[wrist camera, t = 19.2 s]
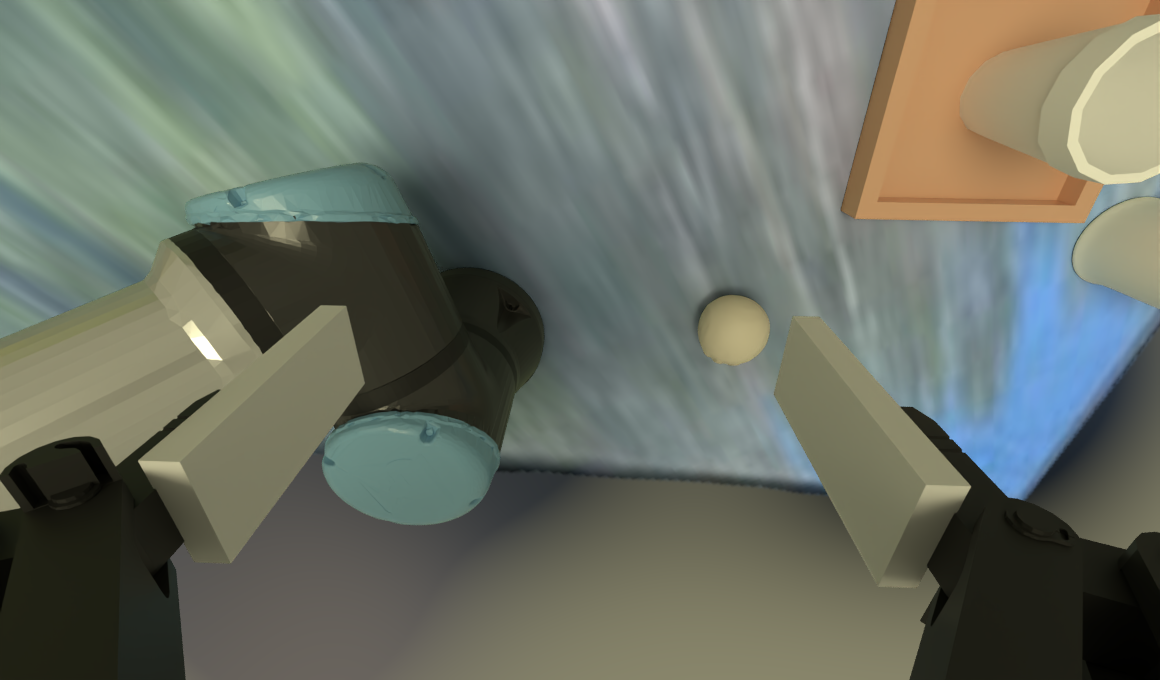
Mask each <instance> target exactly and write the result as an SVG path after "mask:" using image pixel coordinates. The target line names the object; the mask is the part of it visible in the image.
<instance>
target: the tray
mask: <svg viewBox="0 0 1160 680" xmlns="http://www.w3.org/2000/svg"><path fill="white" fill-rule="evenodd" d="M1155 14H1160V0H896V3H895V7H894V10H893V14H892V18H891V22H890V25H889V29H888V33H887V37H886V41H885V44H884V48H883V52H882V56H881V60H880V63H879V67H878V71H877V75H876V78H875V82H874V86H873V90H872V94H871V97H870V101H869V105H868V109H867V113H866V116H865V120H864V124H863V128H862V131H861V135H860V139H859V143H858V147H857V150H856V154H855V158H854V162H853V166H852V169H851V173H850V177H849V181H848V184H847V188H846V192H845V196H844V200H843V203H842V207H841V211H843V212H844V213H846V214H848V215H849V216H851V217H853V218H855V219H892V220H946V221H1000V222H1054V223H1084V222H1085V220H1086V218H1087V216H1088V215H1089V213H1090V211H1091V209H1092V207H1093V205H1094V203H1095V201H1096V199H1097V197H1098V195H1099V193H1100V191H1101V189H1102V187H1103V185H1104V184H1100V183H1096V182H1091V181H1087V180H1082V179H1078V178H1074V177H1072V176H1069V175H1067V174H1065V173H1063V172H1061V171H1059V170H1057V169H1055V168H1053V167H1051V166H1049V164H1048V163H1046V162H1044V161H1041V160H1039V159H1037V158H1034V157H1032V156H1029V155H1027V154H1024V153H1022V152H1020V151H1017V150H1015V149H1012V148H1010V147H1007V146H1005V145H1003V144H1000V143H998V142H995V141H993V140H991V139H988V138H986V137H983V136H981V135H979V134H977V133H975V132H973V131H971V130H969V129H967V128H966V126H965V125H964V123H963V121H962V119H961V117H960V97H961V95H962V93H963V91H964V88H965V86H966V84H967V82H968V80H969V78H970V77H971V76H972V75H973V74H974V73H975V72H976V71H977V70H978V68H979V67H980V66H981V65H982V64H983V63H984V62H985V61H987V60H989V59H991V58H993V57H995V56H997V55H999V54H1000V53H1002V52H1005V51H1009V50H1012V49H1016V48H1020V47H1024V46H1029V45H1033V44H1037V43H1041V42H1045V41H1050V40H1054V39H1058V38H1062V37H1067V36H1071V35H1075V34H1079V33H1083V32H1088V31H1092V30H1096V29H1100V28H1104V27H1109V26H1113V25H1117V24H1121V23H1124V22H1126V21H1128V20H1130V19H1132V18H1134V17H1136V16H1145V15H1155Z"/></svg>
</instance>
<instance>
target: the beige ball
mask: <svg viewBox="0 0 1160 680" xmlns="http://www.w3.org/2000/svg"><path fill="white" fill-rule="evenodd" d="M769 333H770V323H769V319H768V316H767V315H766V313H765V311H764V310H763V308H762V307H761V306H760V305H759V304H757V303H756V302H755V301H753V300H751V299H749V298H747V297H743V296H738V295H727V296H722V297H719V298H717V299H715V300H714V301H712V302H711V303H709V304H708V305H707V306H706V308H705V309H704V311H703V312H702V314H701V317H700V320H699V325H698V336H699V341H700V344H701V346H702V348H703V351H704V354H705V355H706V356H708V357H711V358H712V360H713V361H714V362H716V363H718V364H722V363H724V364H728V365H730V366H733V365H739V364H741V363H745V362H748V361H750V360H752V359H753V358H754V357H756V356H757V355H758V354H759V353H760V352H761V351H762V350H763V348H764V347H765V345H766V343H767V341H768V337H769Z"/></svg>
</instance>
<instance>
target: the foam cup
mask: <svg viewBox="0 0 1160 680" xmlns="http://www.w3.org/2000/svg"><path fill="white" fill-rule="evenodd" d="M960 117H961V119H962V121H963V123H964V125H965V126H966V128H967V129H969V130H971V131H973V132H975V133H977V134H979V135H981V136H983V137H986V138H988V139H991V140H993V141H995V142H998V143H1000V144H1003V145H1005V146H1007V147H1010V148H1012V149H1015V150H1017V151H1020V152H1022V153H1024V154H1027V155H1029V156H1032V157H1034V158H1037V159H1039V160H1041V161H1044V162H1046V163H1048V164H1049V166H1051V167H1053V168H1055V169H1057V170H1059V171H1061V172H1063V173H1065V174H1067V175H1069V176H1072V177H1074V178H1078V179H1082V180H1087V181H1091V182H1096V183H1100V184H1104V185H1105V184H1119V183H1134V182H1141V181H1143V180H1146V179H1148V178H1150V177H1153V176H1155V175H1157V174H1159V173H1160V14H1155V15H1145V16H1136V17H1134V18H1132V19H1130V20H1128V21H1126V22H1124V23H1121V24H1117V25H1113V26H1109V27H1104V28H1100V29H1096V30H1092V31H1088V32H1083V33H1079V34H1075V35H1071V36H1067V37H1062V38H1058V39H1054V40H1050V41H1045V42H1041V43H1037V44H1033V45H1029V46H1024V47H1020V48H1016V49H1012V50H1009V51H1005V52H1002V53H1000V54H999V55H997V56H995V57H993V58H991V59H989V60H987V61H985V62H984V63H983V64H982V65H981V66H980V67H979V68H978V70H977V71H976V72H975V73H974V74H973V75H972V76H971V77H970V78H969V80H968V82H967V84H966V86H965V88H964V91H963V93H962V95H961V97H960Z"/></svg>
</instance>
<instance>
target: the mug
mask: <svg viewBox="0 0 1160 680" xmlns="http://www.w3.org/2000/svg"><path fill="white" fill-rule="evenodd" d="M1072 263H1073V267H1074V270H1075V272H1076V273H1077V275H1078V276H1079V277H1080V278H1082V279H1083V280H1085V281H1087V282H1090V283H1093V284H1099V285H1103V286H1106V287H1108V288H1111V289H1113V290H1115V291H1118V292H1120V293H1123V294H1125V295H1127V296H1130V297H1132V298H1134V299H1137V300H1139V301H1141V302H1144V303H1146V304H1148V305H1151V306H1153V307H1155V308H1158V309H1160V199H1159V198H1155V197H1140V198H1134V199H1130V200H1127V201H1124V202H1122V203H1119V204H1117V205H1115V206H1113V207H1111V208H1109V209H1108V210H1106V211H1105V212H1103V213H1102V214H1100V215H1099V216H1098V217H1097V218H1095V219H1094V220H1093V221H1092V222H1091V223H1090V224H1089V225H1088V226H1087V227H1086V229H1085V230H1084V231H1083V233H1082V234H1081V235H1080V237H1079V239H1078V241H1077V243H1076V245H1075V247H1074V251H1073V256H1072Z"/></svg>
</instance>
